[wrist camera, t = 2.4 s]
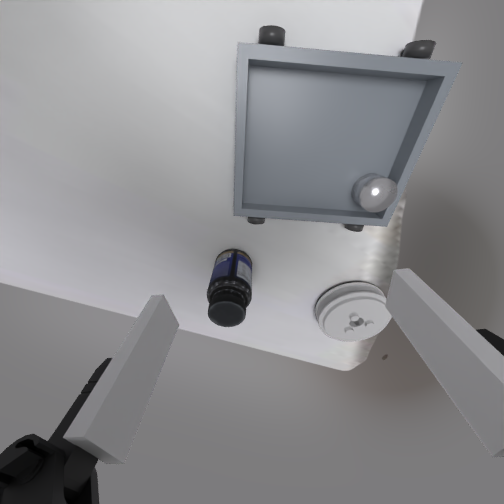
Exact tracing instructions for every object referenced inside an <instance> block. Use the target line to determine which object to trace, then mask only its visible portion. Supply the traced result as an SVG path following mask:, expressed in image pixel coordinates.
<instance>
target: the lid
mask: <svg viewBox="0 0 504 504" xmlns="http://www.w3.org/2000/svg"><path fill="white" fill-rule="evenodd" d="M386 300H387V298H386V297H385V296H384V294H383V292H382V291H381V290H380V289H379V288H378V287H376V286H374V285H372V284H369V283H364V282H351V283H346V284H342V285H339V286H337V287H335V288H333V289H331V290H329V291H328V292H326V293H325V294H324V295H323V296H322V297H321V298H320V299H319V301H318V303H317V305H316V308H315V314H316V317H317V319H318V324H319V327H320V329H321V331H322V332H323V333H324V334H325V335H327V336H328V337H330V338H333V339H337V340H340V341H350V342H351V341H360V340H364V339H367V338H370V337H372V336H374V335H376V334H378V333H379V332H380V331H382V330H383V329H384V328H385V327H386V325H387V324H388V323H389V321H390V319H391V317H392V316H391V314H390V313H389V311H388V310H387V308H386V307H385V304H386Z"/></svg>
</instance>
